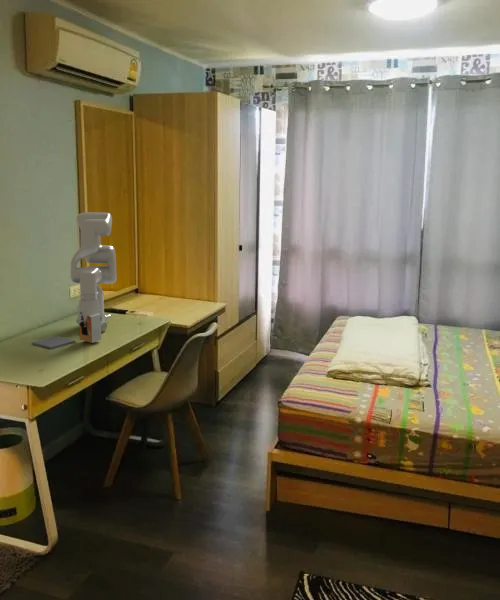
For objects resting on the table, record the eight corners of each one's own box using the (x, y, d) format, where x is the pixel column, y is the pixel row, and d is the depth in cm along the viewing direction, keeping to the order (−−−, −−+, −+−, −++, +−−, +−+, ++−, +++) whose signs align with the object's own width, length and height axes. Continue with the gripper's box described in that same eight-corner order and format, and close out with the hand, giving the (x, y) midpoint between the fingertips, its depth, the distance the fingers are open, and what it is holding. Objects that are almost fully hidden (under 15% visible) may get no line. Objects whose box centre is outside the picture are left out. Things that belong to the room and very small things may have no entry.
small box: (79, 340, 285) (78, 314, 282) (89, 337, 290) (88, 311, 287) (92, 343, 281) (91, 316, 278) (101, 339, 287) (100, 313, 284)
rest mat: (56, 337, 293) (56, 335, 292) (75, 342, 285) (75, 340, 285) (32, 344, 281) (32, 342, 281) (51, 349, 274) (51, 347, 273)
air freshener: (99, 335, 299) (99, 315, 297) (84, 333, 301) (83, 314, 299) (109, 329, 310) (108, 311, 308) (94, 328, 311) (93, 310, 309)
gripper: (97, 292, 290) (98, 327, 294) (68, 298, 276) (70, 335, 280) (108, 294, 286) (109, 330, 290) (79, 301, 272) (81, 338, 276)
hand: (90, 332), depth 285 cm, fingers closed on small box, 6 cm apart
